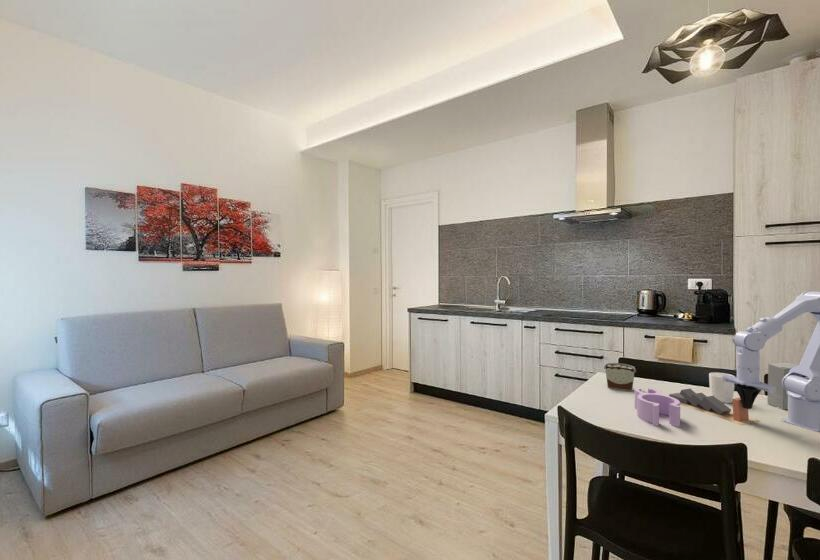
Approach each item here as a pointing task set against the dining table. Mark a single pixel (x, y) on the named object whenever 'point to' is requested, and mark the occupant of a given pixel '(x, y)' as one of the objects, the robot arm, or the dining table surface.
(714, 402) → the domino
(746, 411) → the rust domino
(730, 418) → the cork strip
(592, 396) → the dining table surface
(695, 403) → the domino
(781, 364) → the skincare box
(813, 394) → the robot arm
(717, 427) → the dining table surface
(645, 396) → the clip
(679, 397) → the domino
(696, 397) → the domino
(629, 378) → the food container
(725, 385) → the white cup
